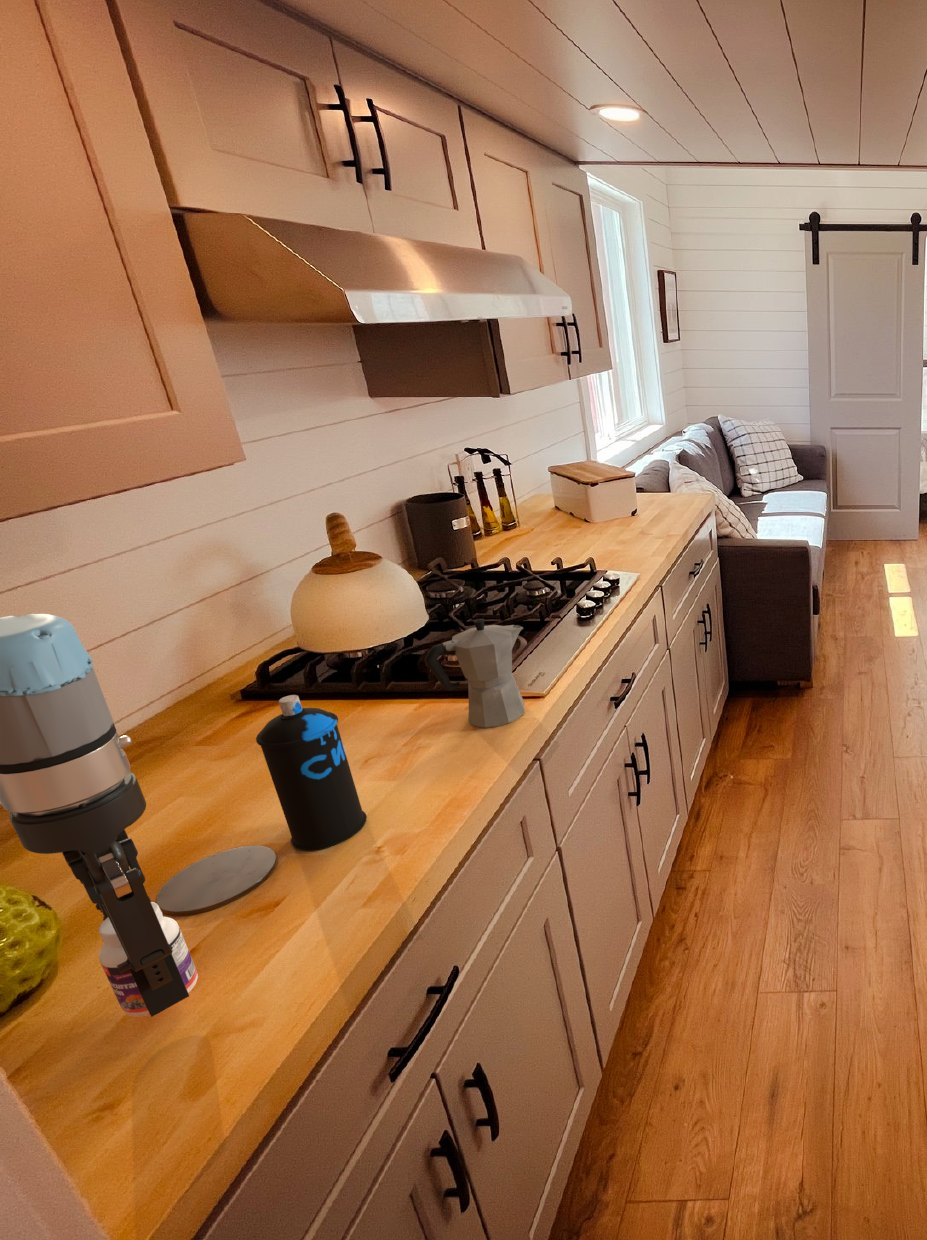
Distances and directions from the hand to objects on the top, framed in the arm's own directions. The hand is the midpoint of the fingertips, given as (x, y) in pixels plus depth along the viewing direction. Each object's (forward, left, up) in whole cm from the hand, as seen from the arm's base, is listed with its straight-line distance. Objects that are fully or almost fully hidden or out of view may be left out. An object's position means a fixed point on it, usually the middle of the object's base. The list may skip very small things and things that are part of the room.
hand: (159, 987), depth 69 cm
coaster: (-5, +19, -3) cm, 20 cm away
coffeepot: (+19, +52, -3) cm, 55 cm away
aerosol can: (+4, +26, -3) cm, 26 cm away
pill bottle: (0, 0, -1) cm, 1 cm away
